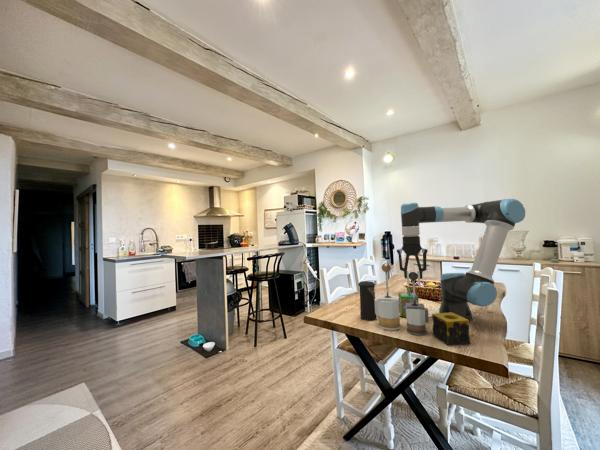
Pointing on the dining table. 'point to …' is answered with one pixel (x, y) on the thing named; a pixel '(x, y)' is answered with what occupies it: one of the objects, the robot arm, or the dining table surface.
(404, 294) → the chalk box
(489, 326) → the dining table surface
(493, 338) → the dining table surface
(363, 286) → the container
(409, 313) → the press small
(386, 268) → the plunger large
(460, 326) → the dark box with hole
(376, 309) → the press large
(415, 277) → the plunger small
